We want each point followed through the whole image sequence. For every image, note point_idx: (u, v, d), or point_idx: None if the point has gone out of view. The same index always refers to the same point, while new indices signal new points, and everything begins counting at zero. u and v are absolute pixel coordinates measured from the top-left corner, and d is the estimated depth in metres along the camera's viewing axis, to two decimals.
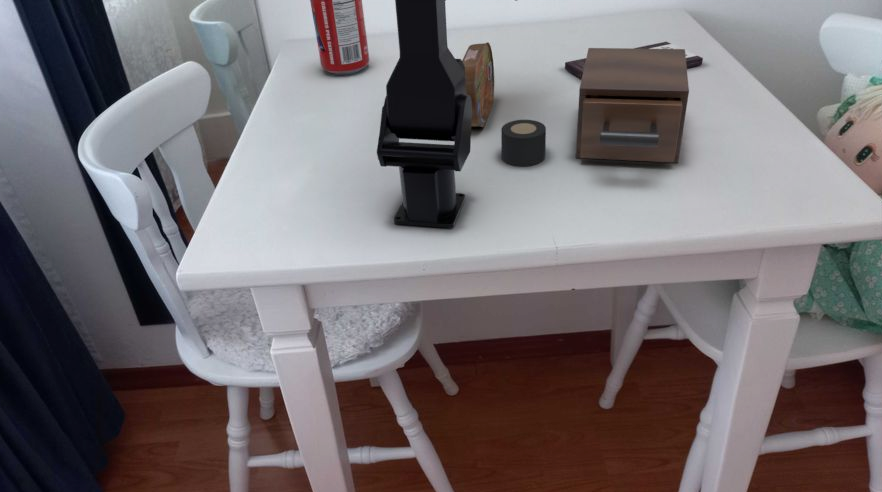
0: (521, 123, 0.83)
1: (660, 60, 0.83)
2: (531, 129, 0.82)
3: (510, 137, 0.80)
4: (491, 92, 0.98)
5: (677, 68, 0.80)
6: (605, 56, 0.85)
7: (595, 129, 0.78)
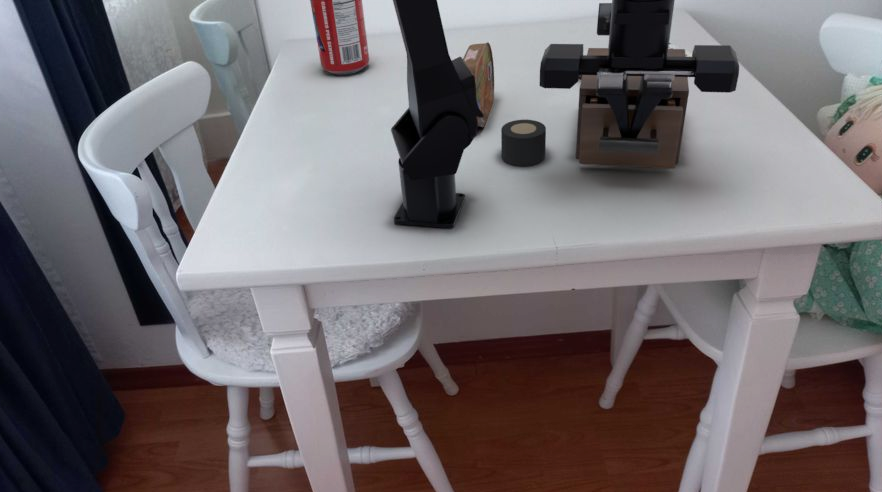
0: (521, 123, 0.83)
1: None
2: (531, 129, 0.82)
3: (510, 137, 0.80)
4: (491, 92, 0.98)
5: None
6: None
7: (595, 134, 0.77)
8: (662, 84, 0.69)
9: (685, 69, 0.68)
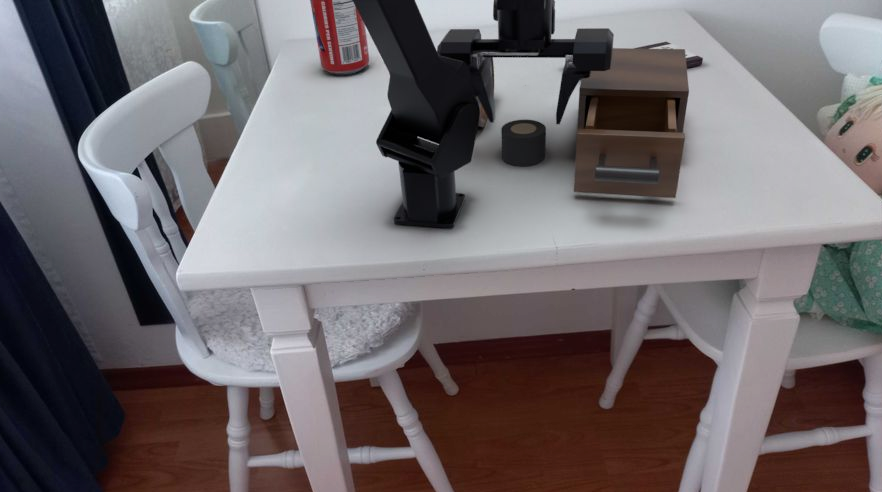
0: (521, 123, 0.83)
1: (660, 60, 0.83)
2: (531, 129, 0.82)
3: (510, 137, 0.80)
4: None
5: (677, 68, 0.80)
6: None
7: (590, 162, 0.72)
8: None
9: (532, 50, 0.75)
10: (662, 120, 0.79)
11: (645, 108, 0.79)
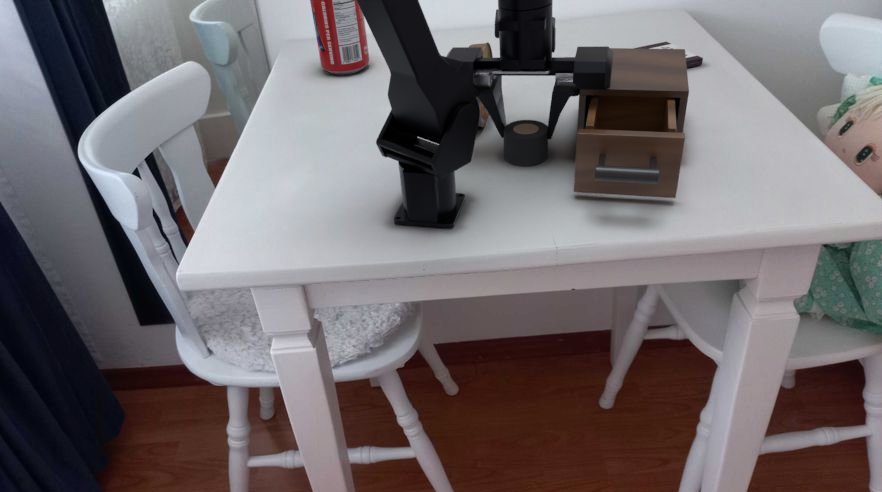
0: (523, 123, 0.83)
1: (660, 60, 0.83)
2: (533, 129, 0.81)
3: (512, 137, 0.80)
4: None
5: (677, 68, 0.80)
6: None
7: (590, 162, 0.72)
8: (571, 83, 0.76)
9: (543, 69, 0.76)
10: (662, 120, 0.79)
11: (645, 108, 0.79)
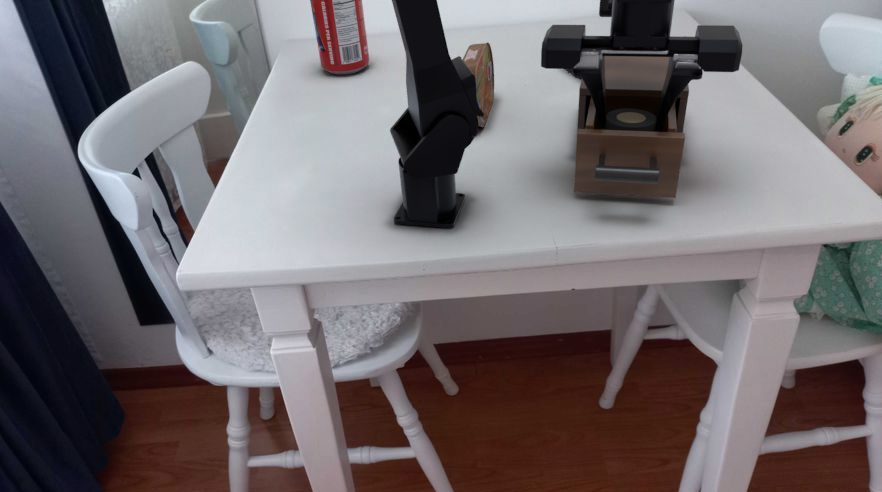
0: (626, 112, 0.74)
1: (660, 60, 0.83)
2: (640, 118, 0.73)
3: (618, 126, 0.72)
4: (491, 92, 0.98)
5: None
6: (605, 56, 0.85)
7: (590, 162, 0.72)
8: (692, 65, 0.68)
9: (660, 49, 0.68)
10: None
11: (645, 108, 0.79)
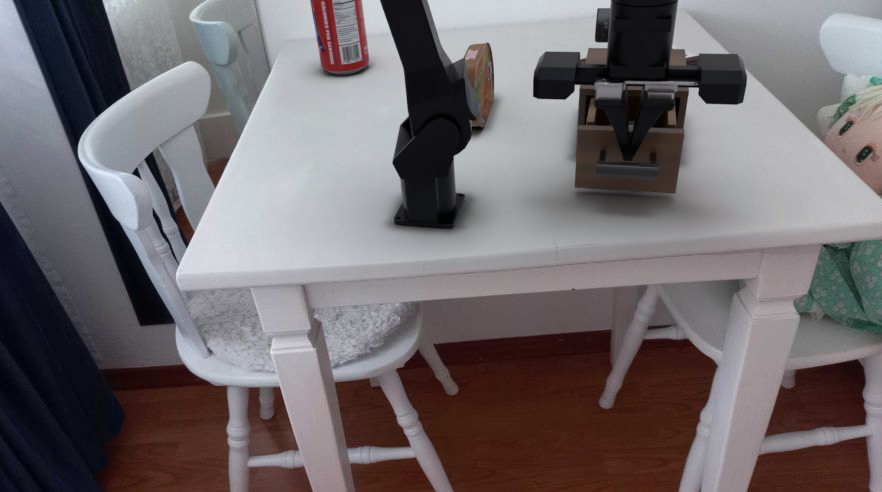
0: None
1: None
2: None
3: None
4: (491, 92, 0.98)
5: None
6: (605, 56, 0.85)
7: (591, 157, 0.73)
8: (664, 95, 0.64)
9: (689, 79, 0.63)
10: (662, 117, 0.80)
11: None
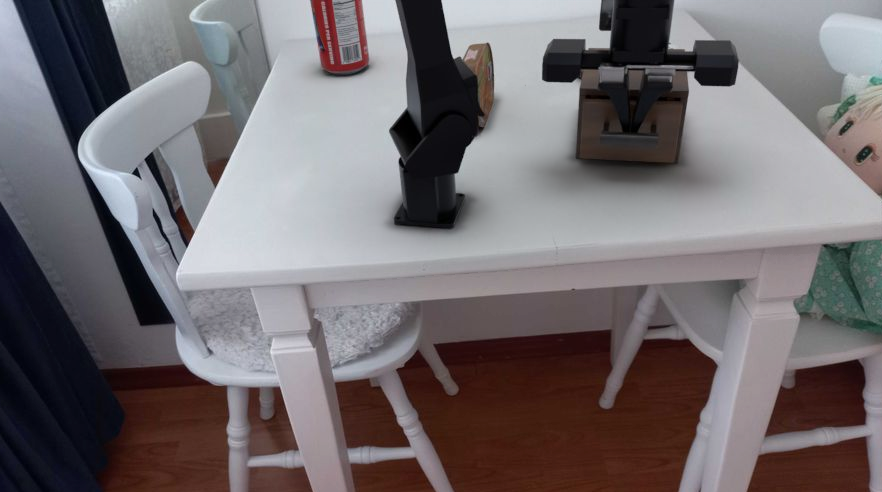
0: None
1: None
2: None
3: None
4: (491, 92, 0.98)
5: None
6: None
7: (595, 129, 0.78)
8: (663, 78, 0.70)
9: (685, 63, 0.69)
10: None
11: None
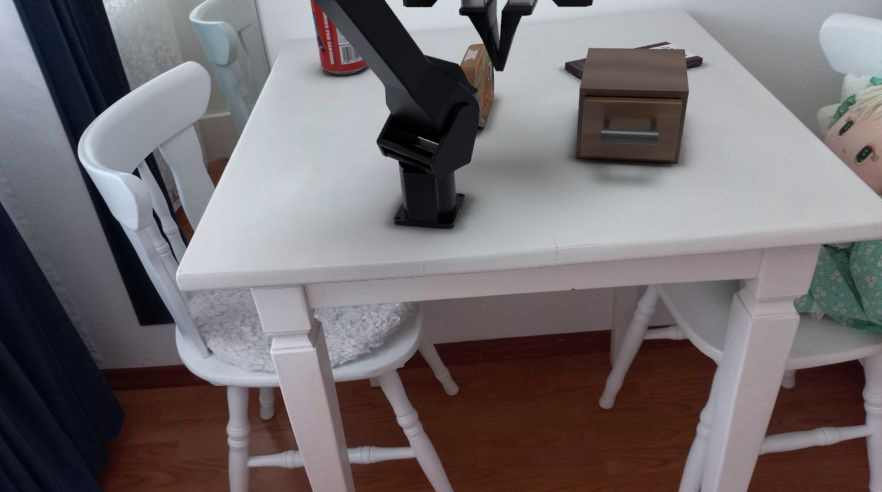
0: None
1: (660, 60, 0.83)
2: None
3: None
4: (491, 92, 0.98)
5: (677, 68, 0.80)
6: (605, 56, 0.85)
7: (596, 127, 0.78)
8: (523, 2, 0.68)
9: None
10: None
11: None
